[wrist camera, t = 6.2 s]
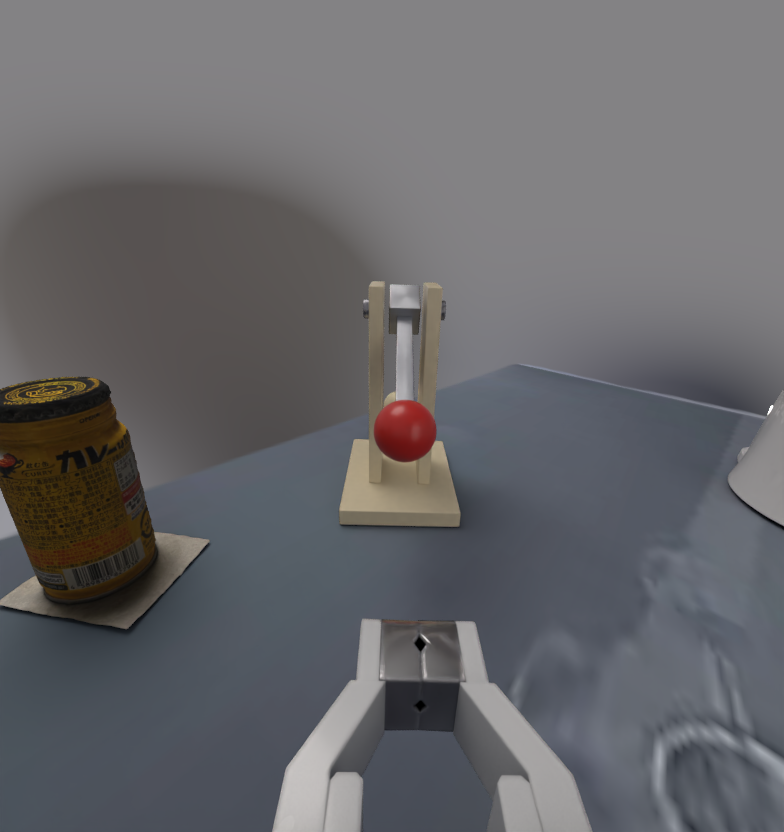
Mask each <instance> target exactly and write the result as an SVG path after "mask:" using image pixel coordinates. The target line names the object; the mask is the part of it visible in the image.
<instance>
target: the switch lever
mask: <svg viewBox="0 0 784 832" xmlns="http://www.w3.org/2000/svg"><path fill="white" fill-rule="evenodd" d="M420 310H421V306H420V286H419V285H390V299H389V334H396V401H394V402H392V403H390V404H388V405H387V406H385V407H384V408H383V409H382V410H381V411H380V413H379V414H378V416H377V418H376V420H375V424H374V439H375V442H376V444H377V446H378V448H379V449H380V451H381V452H382V453H383V454H384V455H385V456H387V457H388V458H390V459H392V460H394V461H397V462H404V463H406V462H413V461H416V460H418V459H420V458H422V457H423V456H425V455H426V454H427V453H428V452H429V451H430V449H431V448H432V446H433V444H434V442H435V439H436V423H435V420H434V418H433V416H432V414H431V413H430V411H429V410H428V409H427V408H426V407H425V406H423V405H422V404H420V403H418V402H416V401H414V367H413V334H414V335H417V334H418V333H419V322H420Z"/></svg>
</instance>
